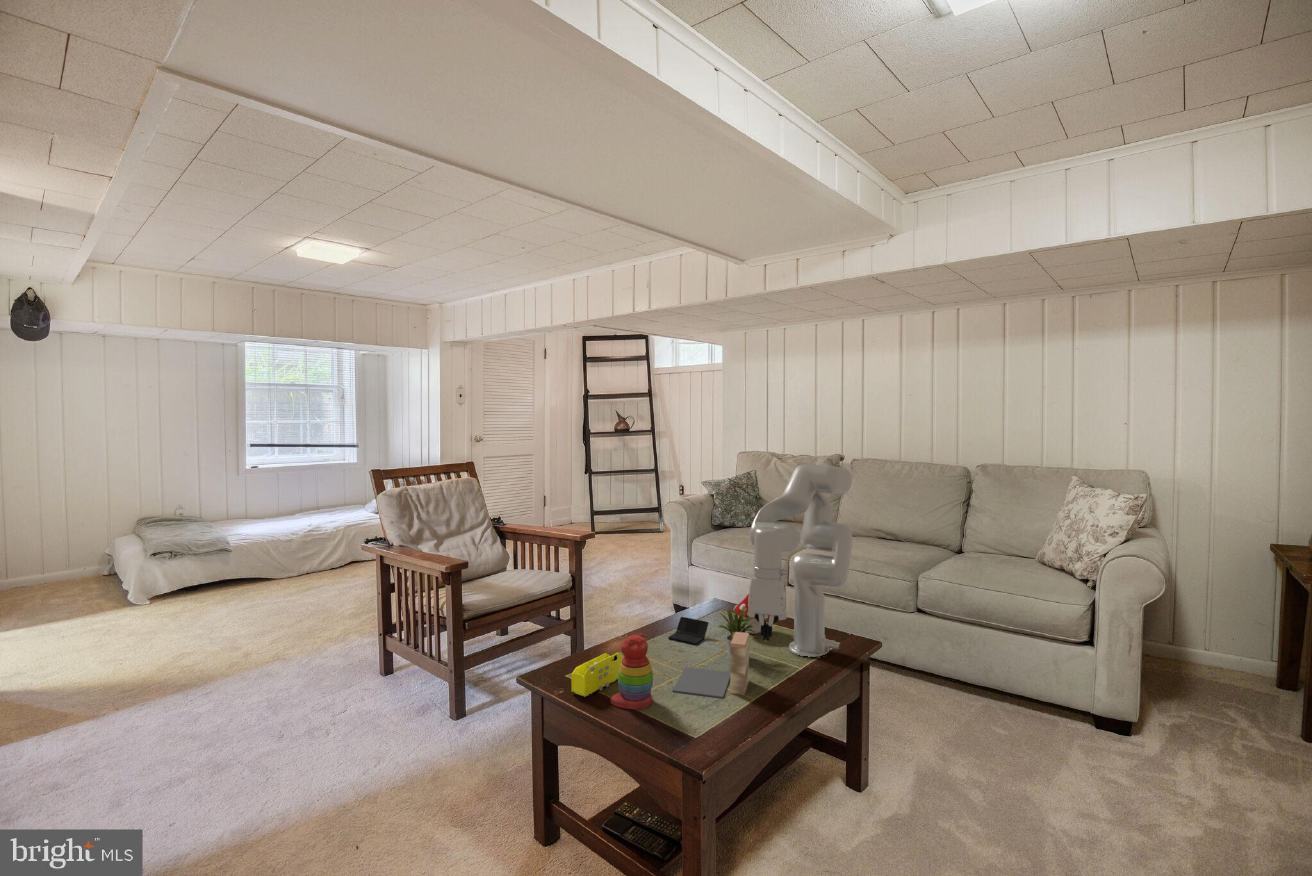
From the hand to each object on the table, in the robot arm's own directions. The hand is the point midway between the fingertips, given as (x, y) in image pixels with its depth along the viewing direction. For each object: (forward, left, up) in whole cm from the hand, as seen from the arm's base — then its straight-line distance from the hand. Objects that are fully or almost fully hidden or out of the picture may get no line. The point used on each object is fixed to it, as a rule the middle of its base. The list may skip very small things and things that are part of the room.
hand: (766, 638), depth 169 cm
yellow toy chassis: (+46, +10, -15) cm, 49 cm away
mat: (+18, -1, -15) cm, 23 cm away
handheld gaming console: (+29, -33, -15) cm, 46 cm away
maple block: (+7, -1, -15) cm, 17 cm away
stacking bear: (+33, +15, -15) cm, 40 cm away
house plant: (+10, -20, -15) cm, 27 cm away
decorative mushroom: (+8, -44, -15) cm, 47 cm away
